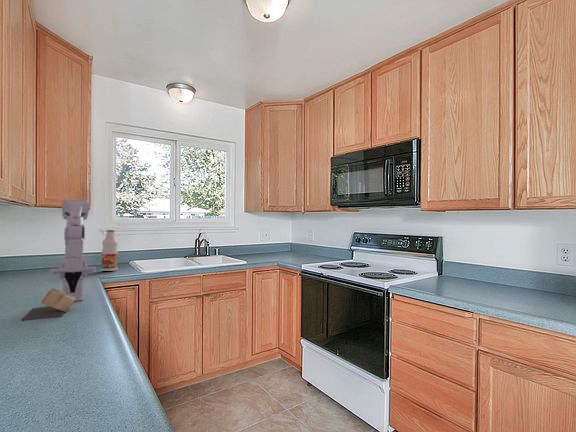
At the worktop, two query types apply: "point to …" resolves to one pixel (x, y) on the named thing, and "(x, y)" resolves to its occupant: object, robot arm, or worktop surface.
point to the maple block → (58, 300)
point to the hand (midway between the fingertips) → (72, 292)
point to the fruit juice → (109, 252)
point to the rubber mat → (43, 313)
